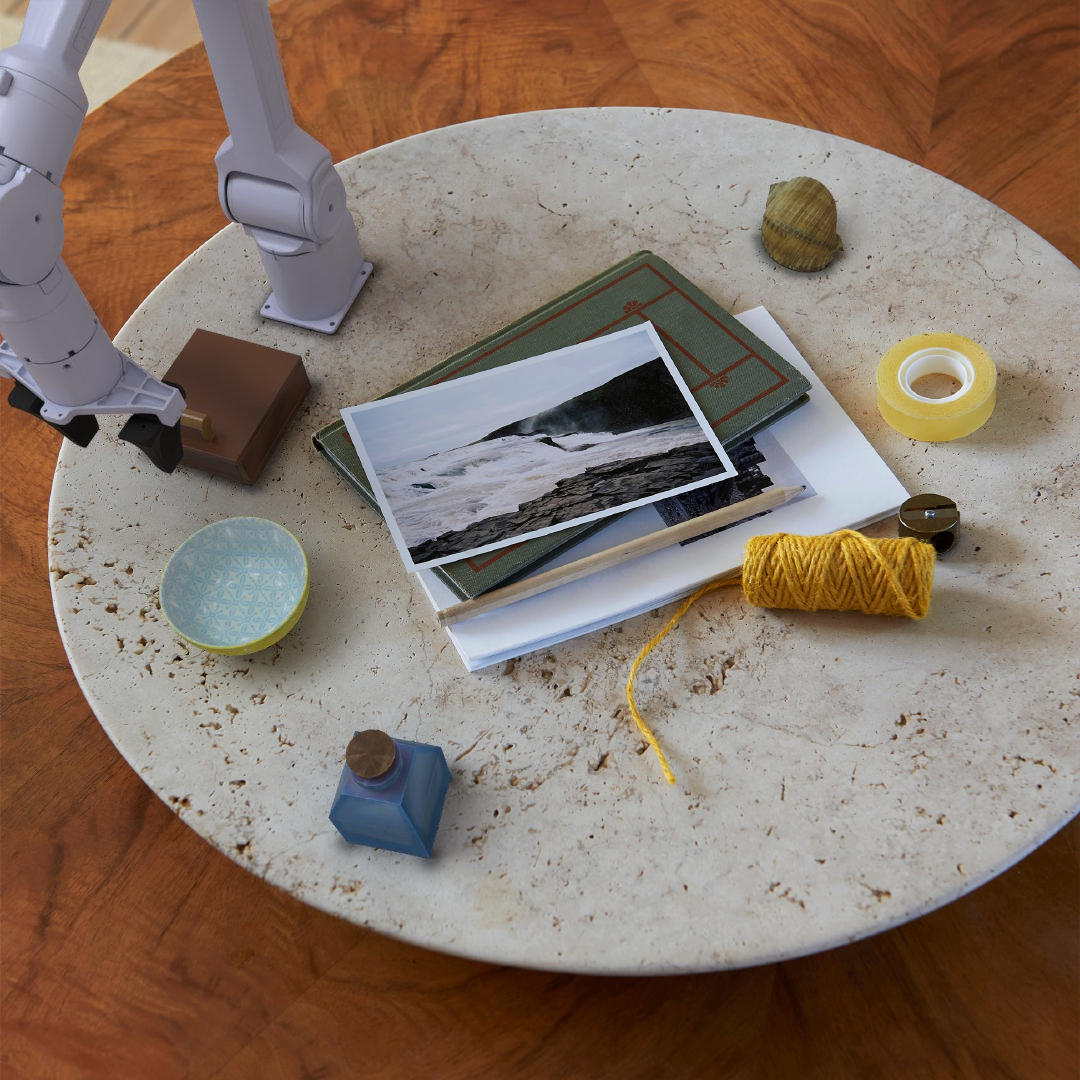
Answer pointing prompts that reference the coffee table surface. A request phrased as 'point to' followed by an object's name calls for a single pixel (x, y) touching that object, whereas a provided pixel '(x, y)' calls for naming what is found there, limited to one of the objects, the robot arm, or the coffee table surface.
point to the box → (259, 436)
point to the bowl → (235, 585)
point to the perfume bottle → (391, 793)
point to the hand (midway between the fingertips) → (131, 450)
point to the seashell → (801, 224)
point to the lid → (227, 391)
